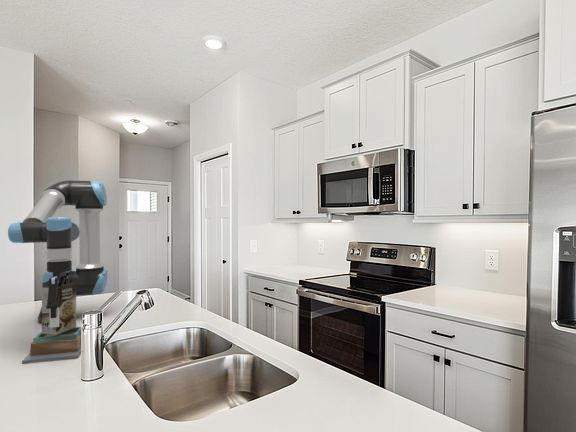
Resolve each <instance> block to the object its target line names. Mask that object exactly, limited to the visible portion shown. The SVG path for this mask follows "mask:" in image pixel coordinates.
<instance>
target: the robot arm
mask: <svg viewBox="0 0 576 432" xmlns="http://www.w3.org/2000/svg"><path fill="white" fill-rule="evenodd" d="M107 196H108V195H107V190H106V188H105V185H104V183H103V182H102V181H96V180H62V181H58V182H56V183H54V184H52V185H50V186H48V187H47V188H45V189H44V190H43V191H42V193H41V194H40V198H39V199H40V200H39V201H37V203H36V204H35V206H34V207H33V208H32V209H31V211H30V212H29V213H28V214H27V216H26V217H25V219H23V220H22V221H21V222H20V221H17V222H12V223H10V224H9V225H8V229H7V235H8V240H9V241H10V242H11V243H14V244H30V243H31V244H34V243H36V244H37V243H46V251H45V252H44V253H45V255H46V260H48V261H47V262H46V272H44V273H43V274H42V279H41V287H42V288H43V287H48V286H49V291H48V300H47V306H46V309H49V321H50V328H51V327H59V307H58V304H59V293H58V287H63V285H64V284H68V283H73V284H76V297H78V296H94V295H101V294H104V292H105V290H106V286H107V282H108V277H109V276H108V275H109V274H108V269H106V268H105V267H104V264H103V263H102V262H101V228H100V227H101V225H100V223H101V221H100V220H101V216H100V214H101V212H102V211H103V210H104V207H105V206H107V203H108V199H107V198H108V197H107ZM63 206H75V207H74V208H75V211H77V212H78V220H79V222H78V224H79V225H78V224H76V222H72V218H71V217H69V216H55V214H56V213H57V211H58V210H59V209H61V208H63ZM77 239H79V263H78V265H77V266H76V267H75V270H73V268H72V267H73V266H72V264H73V263H72V258H73V253H72V242H74V241H76V240H77ZM42 288H41V289H42ZM57 293H58V295H57ZM37 315H38V316H37V323H38V324H42V306H41V307H40V310H39V313H38V314H37Z"/></svg>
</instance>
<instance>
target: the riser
mask: <svg viewBox="0 0 576 432" xmlns="http://www.w3.org/2000/svg"><path fill="white" fill-rule="evenodd" d="M81 327H82V326H76V328H73V329H70V330H68V331H65V332H62V333H60V334H57V335H53V334H42V331H41V332H39V333H38V334H37V335H36V336H34V337H33V339H32V341H31V343H30V345H29V346H30V347H29V348H30V350H29V351H30V353H29V354H30V356H36V355H47V354H57V353H67V352H77V351H78V350H79V349H80V347H81Z"/></svg>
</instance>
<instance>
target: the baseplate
mask: <svg viewBox="0 0 576 432" xmlns="http://www.w3.org/2000/svg"><path fill="white" fill-rule="evenodd" d="M81 354H82V353H81V347H80V349H79V350H78V351H77V352H67V353H57V354H47V355H36V356H30V353H29V354H27V356H26V357H24V358H23V359H22V361H21V364H22V365H25V364H26V365H27V364H35V363H44V362H57V361H65V360H74V359H78V358H79V357H80V356H81Z"/></svg>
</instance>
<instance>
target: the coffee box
mask: <svg viewBox="0 0 576 432" xmlns="http://www.w3.org/2000/svg"><path fill="white" fill-rule="evenodd" d="M48 291H49V286H48V287H43V288H41V307H42V323H41V332H42V334H53V335H57V334H60V333H62V332H65V331H68V330H70V329H73V328H76V327H77V296H76V284H73V283H68V284H64V285H63V287H58V293H59V304H58V307H59V327H51V328H50V321H49V309H46V306H47V300H48ZM58 293H57V295H58Z"/></svg>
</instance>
